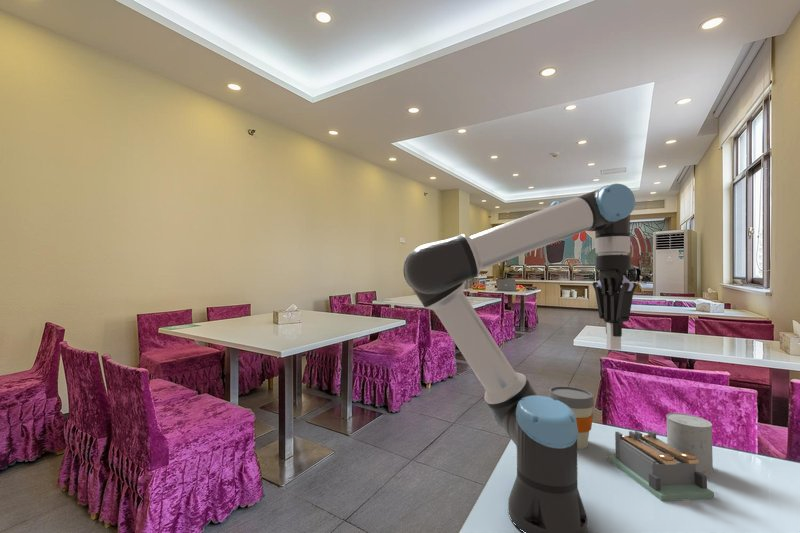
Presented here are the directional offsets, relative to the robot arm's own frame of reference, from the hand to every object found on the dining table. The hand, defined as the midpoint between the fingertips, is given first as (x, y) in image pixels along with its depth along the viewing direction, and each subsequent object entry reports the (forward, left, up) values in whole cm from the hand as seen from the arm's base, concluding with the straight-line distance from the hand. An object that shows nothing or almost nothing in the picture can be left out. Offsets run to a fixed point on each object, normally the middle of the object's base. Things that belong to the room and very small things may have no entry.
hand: (613, 348), depth 88 cm
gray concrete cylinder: (+25, +5, -33) cm, 41 cm away
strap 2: (+14, +1, -26) cm, 30 cm away
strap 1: (+9, +1, -26) cm, 27 cm away
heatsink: (+12, +1, -32) cm, 34 cm away
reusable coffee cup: (+1, +21, -33) cm, 39 cm away
